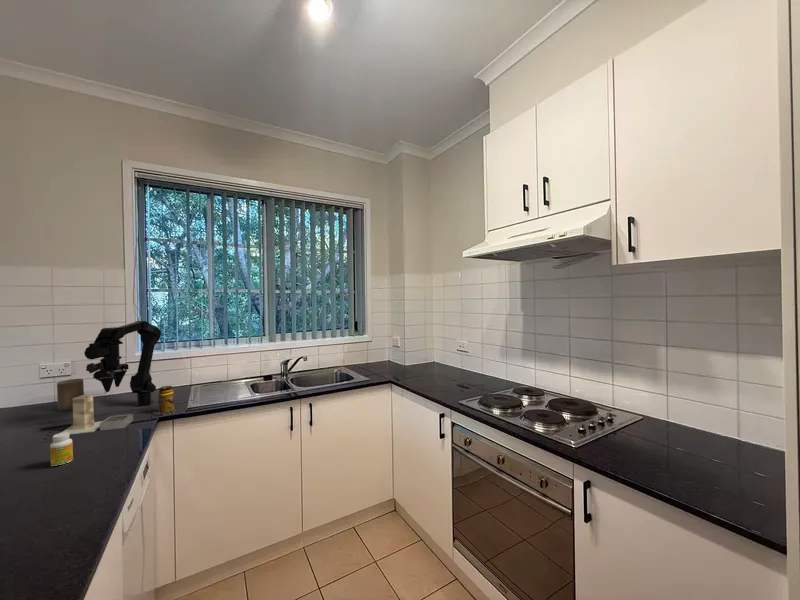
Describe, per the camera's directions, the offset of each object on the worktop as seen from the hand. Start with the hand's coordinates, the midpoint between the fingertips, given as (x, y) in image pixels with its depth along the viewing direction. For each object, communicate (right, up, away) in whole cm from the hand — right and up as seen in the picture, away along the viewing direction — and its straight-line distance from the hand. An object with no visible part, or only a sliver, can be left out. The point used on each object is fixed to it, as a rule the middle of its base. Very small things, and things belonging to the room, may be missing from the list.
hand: (112, 389), depth 157 cm
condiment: (+19, -13, +7) cm, 24 cm away
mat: (-2, -13, -12) cm, 18 cm away
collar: (+10, -13, -9) cm, 19 cm away
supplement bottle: (+18, -14, -42) cm, 48 cm away
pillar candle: (-33, -13, +15) cm, 39 cm away
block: (-2, -13, -12) cm, 18 cm away
